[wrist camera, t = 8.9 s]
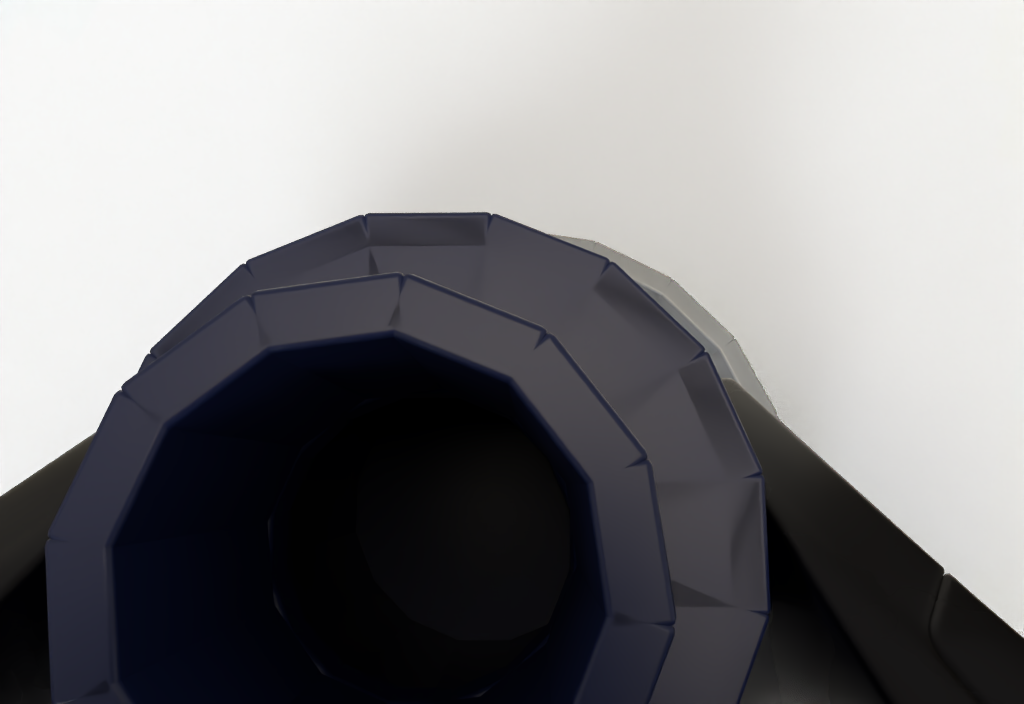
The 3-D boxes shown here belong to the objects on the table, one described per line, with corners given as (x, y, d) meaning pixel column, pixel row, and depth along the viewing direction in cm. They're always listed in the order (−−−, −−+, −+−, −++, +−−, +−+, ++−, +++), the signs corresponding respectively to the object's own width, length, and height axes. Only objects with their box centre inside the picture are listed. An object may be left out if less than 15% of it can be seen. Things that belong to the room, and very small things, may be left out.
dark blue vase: (564, 700, 15) (680, 1461, 3) (299, 583, 16) (-407, 902, 4) (669, 428, 16) (1062, 285, 4) (413, 324, 16) (112, -73, 5)
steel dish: (800, 710, 21) (847, 752, 18) (304, 787, 21) (265, 843, 18) (706, 231, 23) (734, 193, 20) (252, 302, 23) (208, 275, 20)
